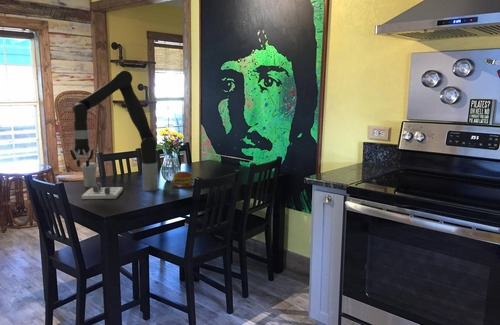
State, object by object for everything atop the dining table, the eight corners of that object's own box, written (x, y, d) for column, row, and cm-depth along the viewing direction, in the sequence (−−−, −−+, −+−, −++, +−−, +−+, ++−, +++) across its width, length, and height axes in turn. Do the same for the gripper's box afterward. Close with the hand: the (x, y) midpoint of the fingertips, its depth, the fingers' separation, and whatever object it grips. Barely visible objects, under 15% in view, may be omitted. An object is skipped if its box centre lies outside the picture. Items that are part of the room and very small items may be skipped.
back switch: (101, 187, 256) (100, 182, 255) (100, 188, 253) (99, 183, 252) (97, 187, 255) (96, 182, 255) (95, 189, 252) (95, 183, 252)
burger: (189, 189, 263) (188, 174, 261) (169, 188, 266) (168, 173, 264) (196, 185, 276) (195, 170, 274) (176, 184, 279) (176, 169, 277)
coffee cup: (81, 188, 264) (79, 165, 262) (83, 184, 273) (81, 162, 271) (97, 187, 267) (96, 164, 264) (98, 184, 276) (97, 161, 273)
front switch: (110, 192, 245) (110, 186, 244) (109, 193, 242) (108, 187, 241) (105, 192, 245) (105, 186, 244) (104, 193, 242) (104, 187, 241)
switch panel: (122, 190, 260) (122, 187, 260) (116, 198, 240) (115, 194, 240) (91, 190, 258) (91, 187, 257) (81, 199, 238) (81, 195, 238)
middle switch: (98, 190, 250) (98, 184, 249) (97, 191, 247) (97, 185, 246) (94, 190, 250) (94, 184, 249) (93, 191, 247) (92, 185, 246)
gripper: (95, 136, 246) (97, 165, 249) (70, 137, 245) (72, 165, 248) (92, 138, 239) (94, 167, 242) (66, 138, 238) (68, 168, 240)
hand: (83, 166), depth 245 cm, fingers open, 4 cm apart
